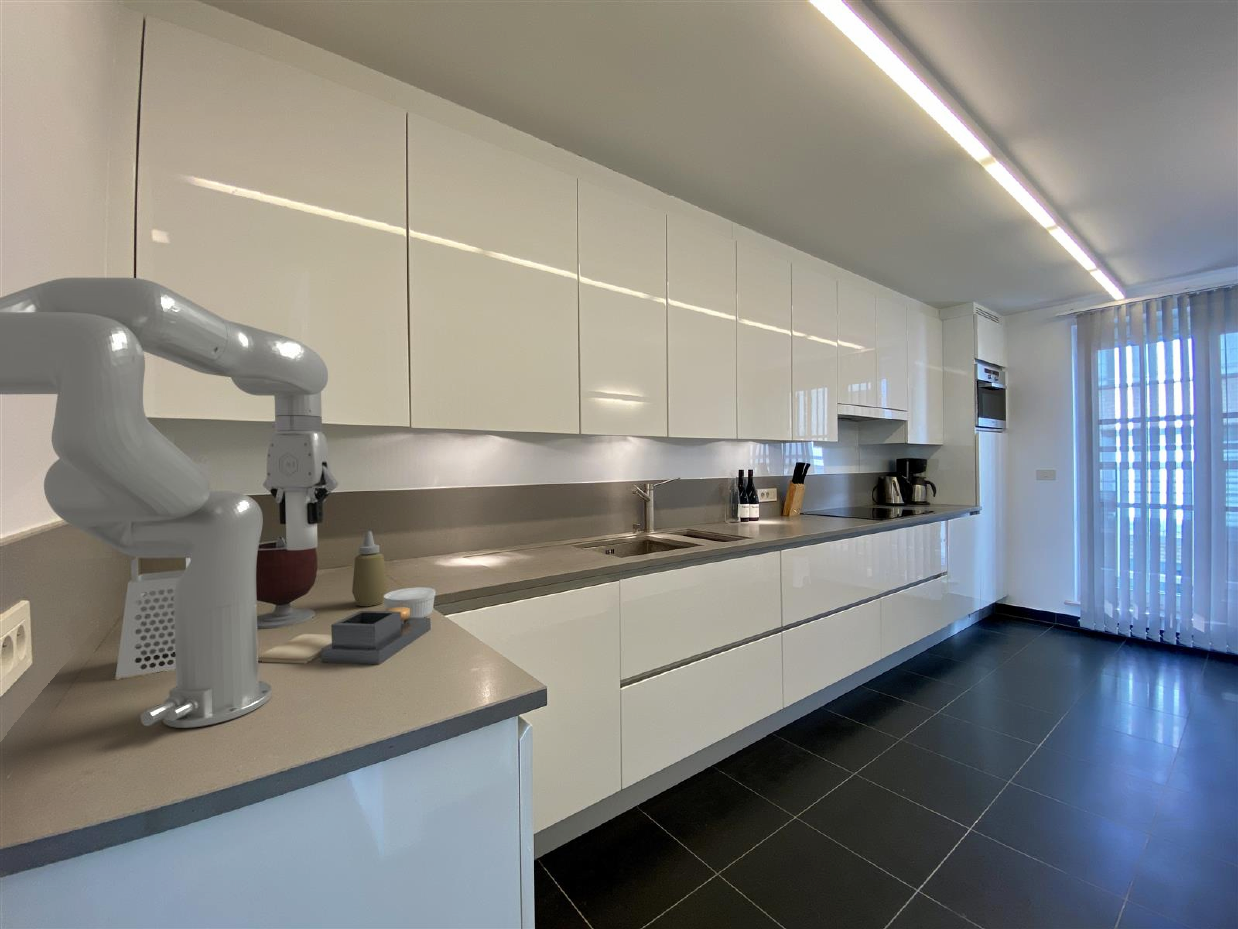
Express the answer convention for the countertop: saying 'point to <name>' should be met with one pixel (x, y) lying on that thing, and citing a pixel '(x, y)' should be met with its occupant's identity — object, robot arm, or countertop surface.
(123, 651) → the grater
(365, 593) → the squeeze bottle
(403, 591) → the ramekin
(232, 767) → the countertop surface
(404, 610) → the orange rounded lump
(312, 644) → the mat
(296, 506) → the cylinder
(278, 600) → the mate gourd
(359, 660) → the housing
